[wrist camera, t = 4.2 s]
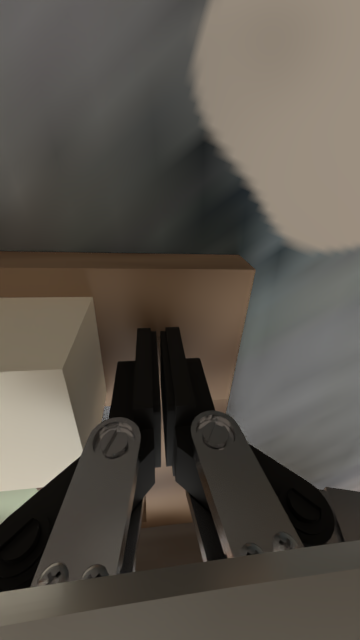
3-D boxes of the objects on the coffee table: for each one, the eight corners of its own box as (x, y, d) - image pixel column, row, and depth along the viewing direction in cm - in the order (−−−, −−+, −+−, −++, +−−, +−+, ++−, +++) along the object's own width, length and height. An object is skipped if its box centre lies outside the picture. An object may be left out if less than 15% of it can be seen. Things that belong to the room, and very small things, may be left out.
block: (-57, 298, 9) (-188, 379, 5) (92, 296, 9) (62, 369, 6) (-8, 399, 11) (-76, 499, 8) (106, 392, 12) (90, 482, 8)
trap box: (-386, 245, 8) (-831, 306, 5) (238, 255, 11) (287, 297, 7) (-79, 529, 20) (-133, 617, 16) (197, 499, 22) (208, 567, 18)
